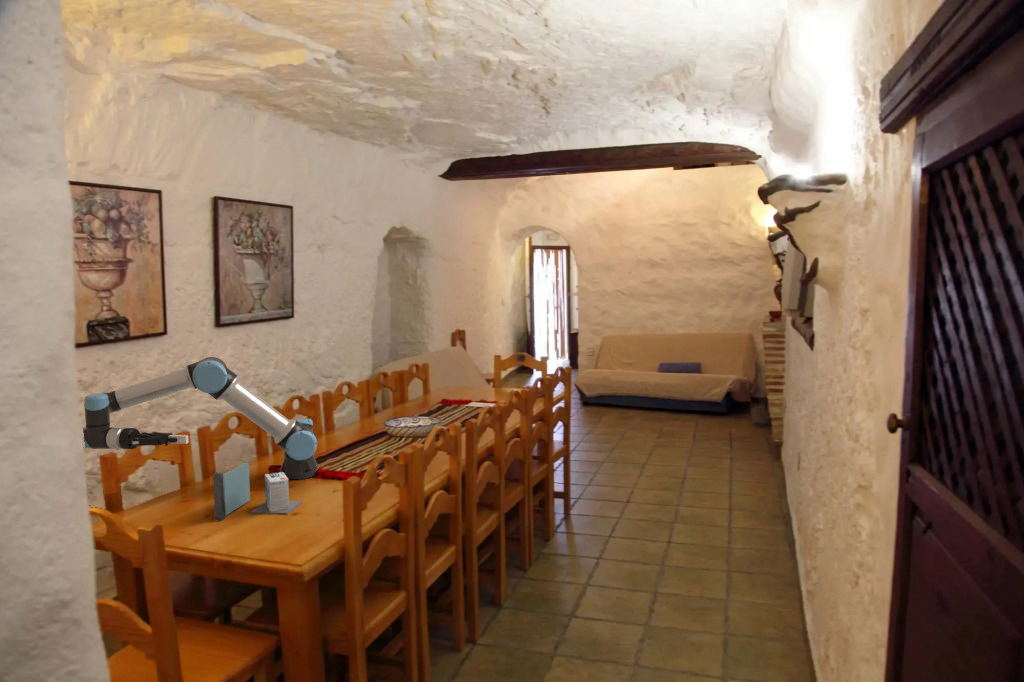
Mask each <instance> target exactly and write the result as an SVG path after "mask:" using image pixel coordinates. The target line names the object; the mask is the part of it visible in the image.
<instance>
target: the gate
mask: <svg viewBox="0 0 1024 682" xmlns="http://www.w3.org/2000/svg"><path fill="white" fill-rule="evenodd" d="M249 465H250V463H249V461H245V462H244V463H241V464H239V465H238V466H236V467H234V468H232V469H230V470H228V471H226V472H225V473H224V472H223V485H224V509H225V517H226V516H227V515H230V514H231V513H232V512H234V511H235V510H237V509H239V508H240V507H241V506H243V505H245V504H246V503H249V501H250V500H251V486H250V466H249Z"/></svg>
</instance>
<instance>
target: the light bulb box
mask: <svg viewBox="0 0 1024 682" xmlns="http://www.w3.org/2000/svg"><path fill="white" fill-rule="evenodd" d="M289 489H290V488H289V479H288V478H287V477H286V475H285V474H284V473H283V472H280V471H279V472H272V473H265V474H264V491H265V495H264V496H265V497H264V498H265V499H264V500H265V501H264V502H265V503H266V505H267V507H268V509H269V511H270V512H272V511H279V510H286V509H289V501H290V499H289V498H290V497H289V496H290V495H289V494H290V493H289V492H290V491H289Z"/></svg>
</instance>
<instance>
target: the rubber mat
mask: <svg viewBox="0 0 1024 682" xmlns="http://www.w3.org/2000/svg"><path fill="white" fill-rule="evenodd" d="M302 502H304V501H303V500H289V509H286V510H279V511H272V512H270V511H269V509H268V507H267V505H266V503H265V501H264V502H263V503H261V504H260V505H258V506H257V507H256V508H255V509H253V510H251V514H256V513H262V514H264V515H286V514H287V515H289V514H290V513H291V512H293V511H294V510H295V509H297V508H298V507H299V506H300V505H302V504H303V503H302ZM298 505H299V506H298ZM297 506H298V507H297ZM292 510H293V511H292ZM265 513H267V514H265ZM262 514H261V515H262ZM287 515H286V516H287Z"/></svg>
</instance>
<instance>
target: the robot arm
mask: <svg viewBox="0 0 1024 682" xmlns="http://www.w3.org/2000/svg"><path fill="white" fill-rule="evenodd" d="M188 389H194V390H196V389H198V390H199V391H201V392H203V393H206V394H208V395H209V396H210V397H212V398H213V399H215V400H216V401H220V400H223V401H224V402H226V403H227V404H228V405H230V406H232V407H233V408H234V409H235V410H237V411H238V412H240V413H241V415H243V416H245V417H246V418H247V419H248V420H250V422H251V421H252V422H253V423H254V424H255V425H257V426H258V427H260V428H261V429H262V430H264V431H265V432H266V433H268V435H270V436H271V437H273V439H274V443H275V445H277V446H278V447H280V448H281V449H282V450H283V456H284V457H283V460H282V463H281V467H280V471H279V472H283V473H284V474H285V475H286V477H287V478H288V480H290V479H298V480H305V479H310V477H311V478H313V477H312V476H313V475H314V473H315V472H316V471H317V470H318V469H319V466H318V463H317V461H316V458H315V452H316V450H317V447H318V440H317V436H316V435H315V434H314V422H313V420H312V418H299V419H296V418H295V419H288V418H287V417H286V416H284V415H283V414H282V413H281V412H279V411H278V410H277V409H276V408H274V407H273V406H271V405H270V404H269V403H267V402H266V401H265V400H264V399H262V398H261V397H260V396H259V395H257V394H255V392H253V391H251V390H250V388H248V387H246V386H245V385H244V384H242V383H241V382H240V381H239V376H238V374H236V373H235V372H234V371H232V370H231V369H229V368H228V367H227V364H226V363H225V362H224V360H222V359H221V358H219V357H215V356H209V357H204V358H203V359H200V360H198V361H196V362H193V363H190V364H186V366H185V367H184V368H183V369H180V370H177V371H173V372H170V373H168V374H164V375H161V376H158V377H154V378H150V379H147V380H145V381H141V382H138V383H134V384H131V385H129V386H126V387H122V388H119V389H116V390H113V391H109V392H102V393H92V394H91V393H90V394H88V395H85V397H84V404H83V407H84V416H85V427H83V428H82V429H83V433H84V442H85V449H93V450H102V449H103V450H105V449H107V450H116V451H120V450H135V449H137V448H138V447H140V446H141V447H143V446H145V447H146V446H163V445H164V446H165V447H166V446H169V444H174V445H175V444H178V445H180V444H181V445H182V444H185V445H186V444H188V443H189V442H190V441H189V435H188V434H183V435H182V434H173V433H172V432H169V433H167V432H158V431H152V432H147V431H144V432H140V430H139V429H138V428H136V427H111V418H110V417H111V416H110V414H112V413H116V412H118V411H121V410H124V409H126V408H130V407H134V406H137V405H140V404H143V403H147V402H150V401H152V400H156V399H158V398H162V397H165V396H169V395H172V394H174V393H178V392H181V391H182V392H183V391H185V390H188Z"/></svg>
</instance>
